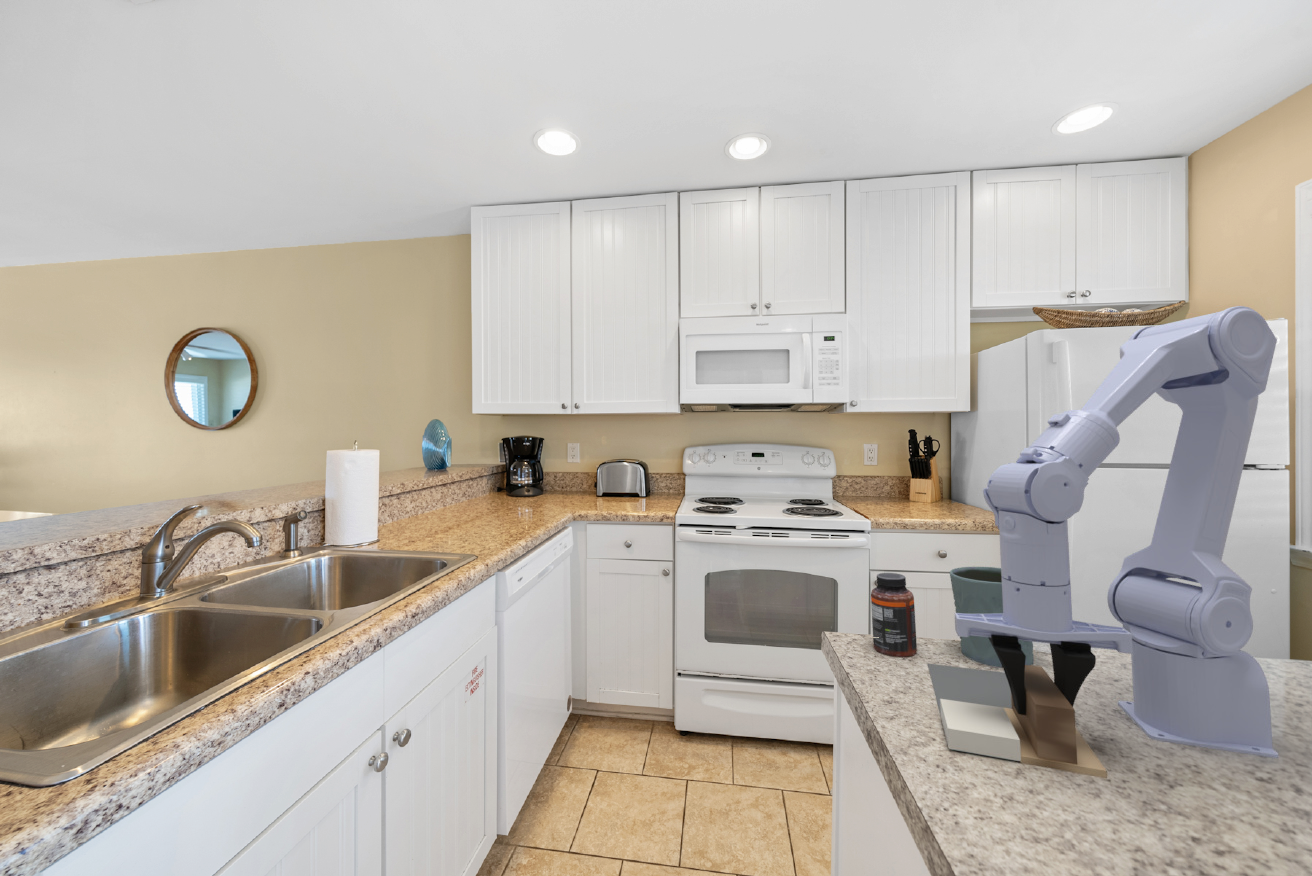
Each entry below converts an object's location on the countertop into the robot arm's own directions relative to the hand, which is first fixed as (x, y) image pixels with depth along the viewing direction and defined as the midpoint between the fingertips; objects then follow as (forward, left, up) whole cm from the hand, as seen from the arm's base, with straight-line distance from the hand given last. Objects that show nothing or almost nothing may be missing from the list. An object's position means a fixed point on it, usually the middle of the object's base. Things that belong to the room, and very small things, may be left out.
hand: (1041, 713), depth 52 cm
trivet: (0, 0, -3) cm, 3 cm away
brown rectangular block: (0, 0, -2) cm, 2 cm away
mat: (+3, -7, -3) cm, 8 cm away
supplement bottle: (+13, -21, -3) cm, 25 cm away
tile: (+6, -1, -2) cm, 6 cm away
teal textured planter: (0, -23, -3) cm, 23 cm away
